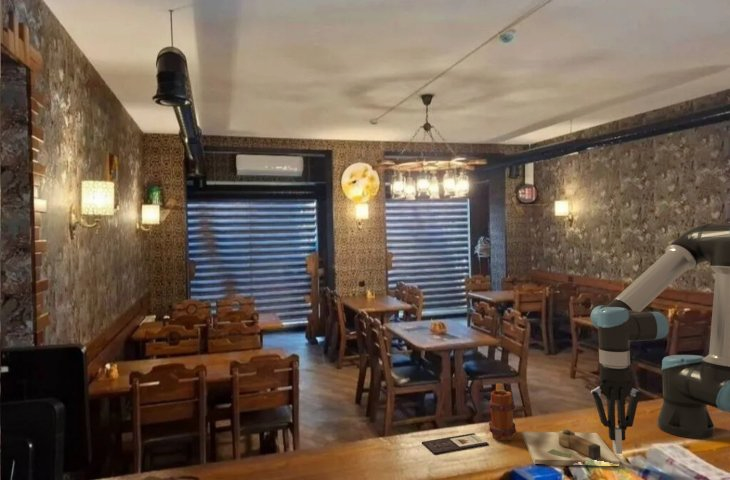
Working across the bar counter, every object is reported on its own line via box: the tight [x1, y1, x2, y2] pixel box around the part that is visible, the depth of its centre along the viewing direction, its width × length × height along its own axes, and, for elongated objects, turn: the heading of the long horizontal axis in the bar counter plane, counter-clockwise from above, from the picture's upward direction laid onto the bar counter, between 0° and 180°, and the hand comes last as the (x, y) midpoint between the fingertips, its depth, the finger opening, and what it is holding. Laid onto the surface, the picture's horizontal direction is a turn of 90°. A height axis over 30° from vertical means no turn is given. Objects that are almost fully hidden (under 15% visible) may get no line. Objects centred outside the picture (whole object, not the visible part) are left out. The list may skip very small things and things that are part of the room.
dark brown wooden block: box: [558, 429, 601, 459], centre depth 144 cm, size 13×4×4 cm, turn 22°
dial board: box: [521, 431, 621, 467], centre depth 148 cm, size 22×20×2 cm
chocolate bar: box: [421, 432, 490, 456], centre depth 155 cm, size 9×1×18 cm
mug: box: [488, 382, 517, 442], centre depth 161 cm, size 15×8×15 cm, turn 168°
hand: (617, 451), depth 138 cm, fingers closed
